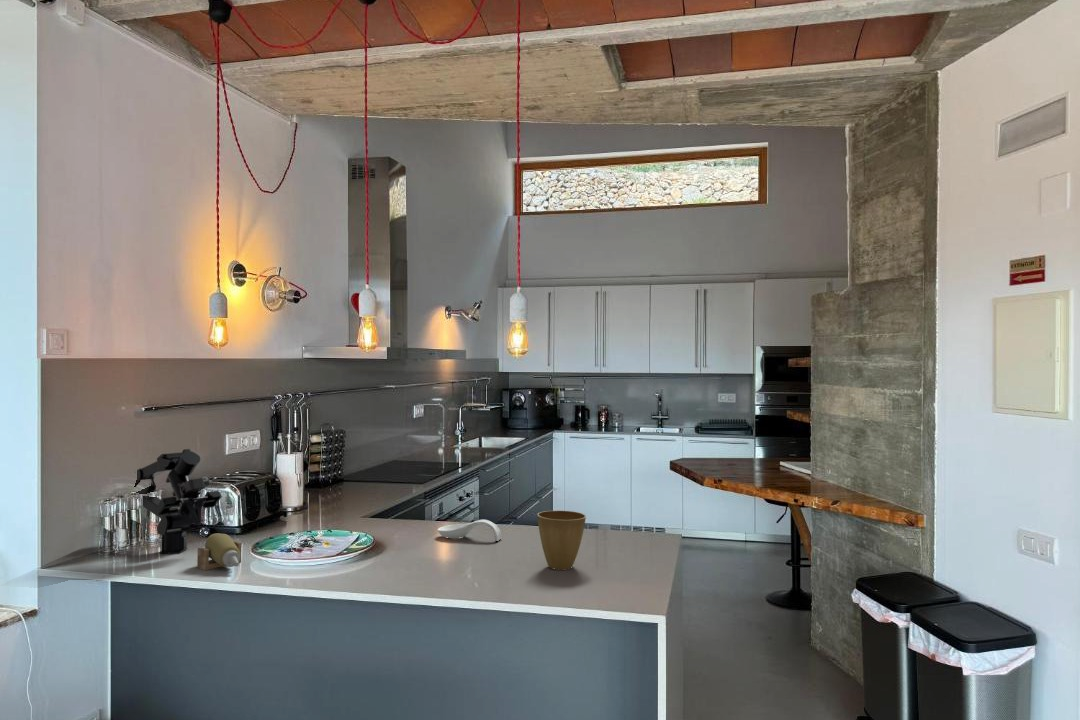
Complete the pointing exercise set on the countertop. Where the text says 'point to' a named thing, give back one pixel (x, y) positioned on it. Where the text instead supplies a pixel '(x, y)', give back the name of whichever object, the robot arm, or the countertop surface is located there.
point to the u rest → (208, 564)
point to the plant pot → (561, 536)
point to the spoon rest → (467, 529)
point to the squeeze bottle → (223, 550)
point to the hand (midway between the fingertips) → (199, 523)
